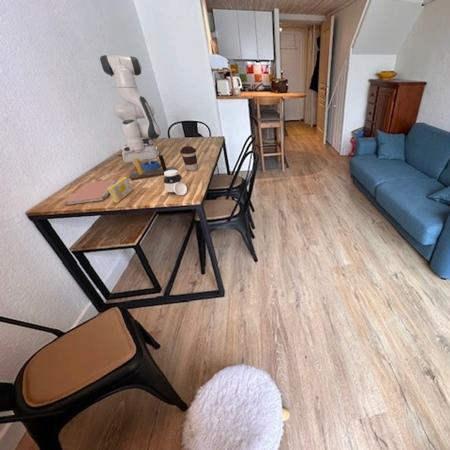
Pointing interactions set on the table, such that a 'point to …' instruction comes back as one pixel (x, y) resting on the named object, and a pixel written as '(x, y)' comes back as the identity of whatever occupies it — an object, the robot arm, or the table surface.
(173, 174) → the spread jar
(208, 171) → the table surface
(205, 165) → the table surface
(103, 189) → the notebook
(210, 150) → the table surface
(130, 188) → the candy box
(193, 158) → the coffee cup
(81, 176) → the table surface
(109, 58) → the robot arm
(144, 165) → the tape roll
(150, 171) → the peg rack
